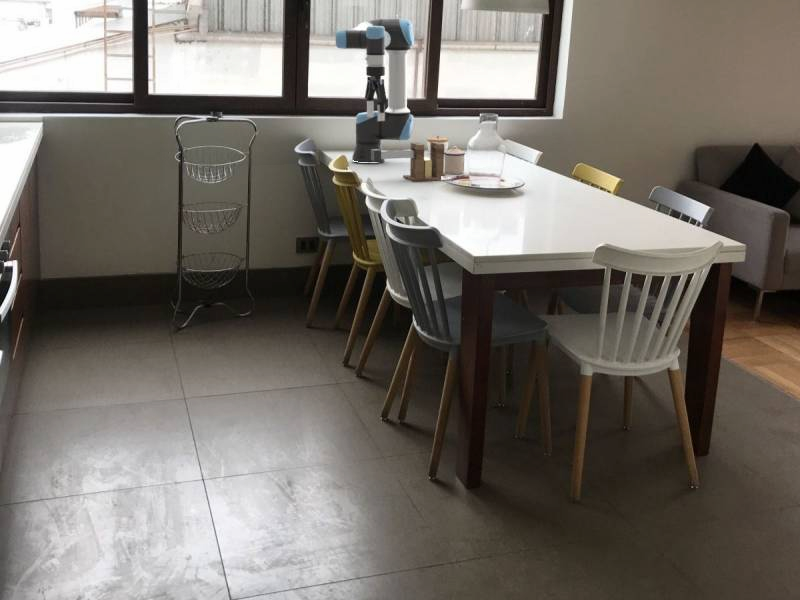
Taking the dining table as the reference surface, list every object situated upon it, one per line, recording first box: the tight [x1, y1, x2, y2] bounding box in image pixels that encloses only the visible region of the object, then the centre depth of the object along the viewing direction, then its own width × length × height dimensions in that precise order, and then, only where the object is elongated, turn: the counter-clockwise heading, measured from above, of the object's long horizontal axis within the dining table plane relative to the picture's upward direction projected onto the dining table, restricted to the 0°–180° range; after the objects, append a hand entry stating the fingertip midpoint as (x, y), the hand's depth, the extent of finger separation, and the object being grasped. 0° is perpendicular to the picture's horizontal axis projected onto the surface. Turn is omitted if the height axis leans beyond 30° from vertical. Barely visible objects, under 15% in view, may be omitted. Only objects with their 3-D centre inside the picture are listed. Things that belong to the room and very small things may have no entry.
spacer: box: [424, 157, 432, 178], centre depth 402 cm, size 7×3×8 cm, turn 20°
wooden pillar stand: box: [402, 141, 446, 183], centre depth 401 cm, size 12×17×15 cm
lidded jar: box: [426, 134, 450, 153], centre depth 473 cm, size 11×11×9 cm
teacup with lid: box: [444, 145, 466, 175], centre depth 419 cm, size 12×9×12 cm
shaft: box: [371, 148, 416, 161], centre depth 395 cm, size 4×20×4 cm, turn 110°
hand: (375, 119), depth 390 cm, fingers open, 13 cm apart
